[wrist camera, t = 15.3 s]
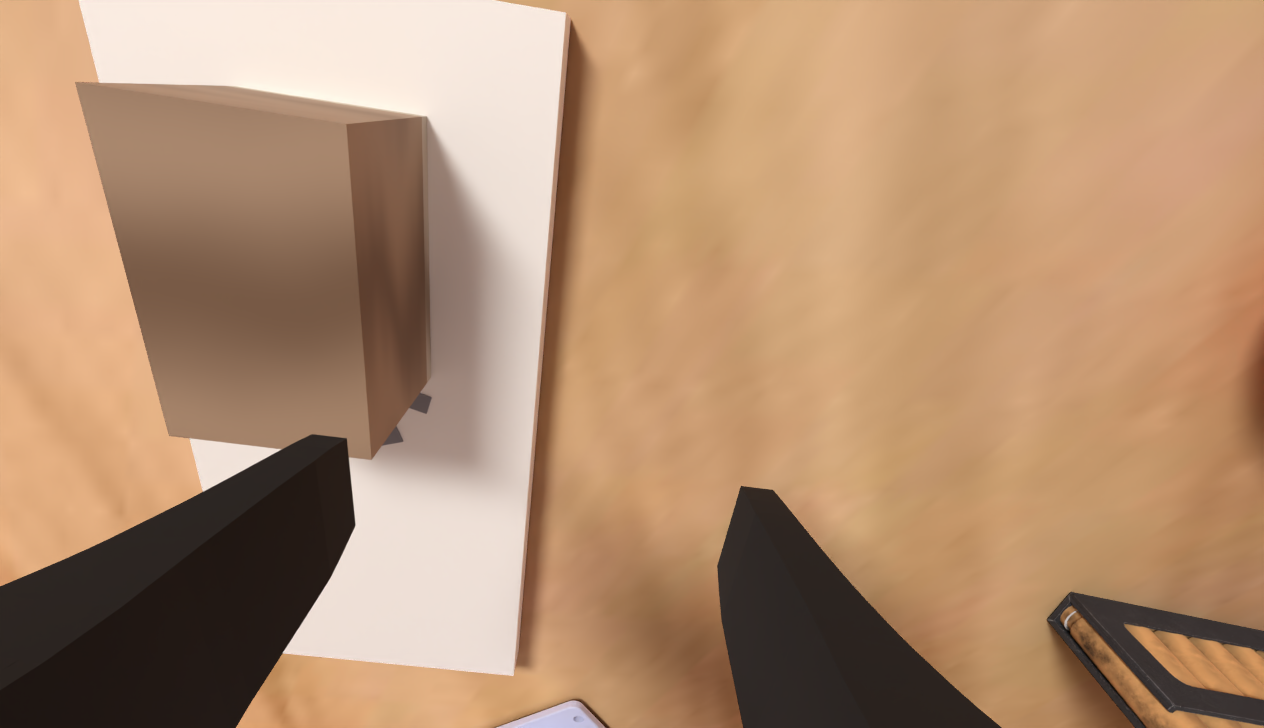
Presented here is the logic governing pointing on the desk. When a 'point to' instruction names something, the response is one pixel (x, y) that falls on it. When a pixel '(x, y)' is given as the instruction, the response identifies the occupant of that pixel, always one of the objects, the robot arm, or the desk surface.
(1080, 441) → the desk surface
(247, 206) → the block
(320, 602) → the plank
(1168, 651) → the ammunition clip
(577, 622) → the desk surface
